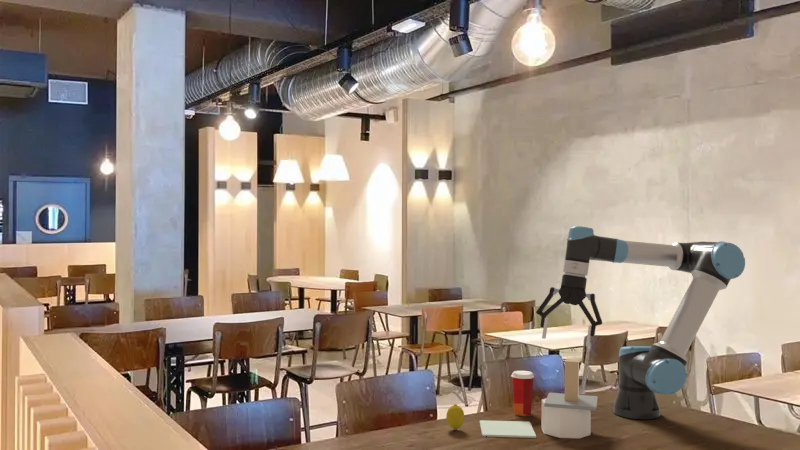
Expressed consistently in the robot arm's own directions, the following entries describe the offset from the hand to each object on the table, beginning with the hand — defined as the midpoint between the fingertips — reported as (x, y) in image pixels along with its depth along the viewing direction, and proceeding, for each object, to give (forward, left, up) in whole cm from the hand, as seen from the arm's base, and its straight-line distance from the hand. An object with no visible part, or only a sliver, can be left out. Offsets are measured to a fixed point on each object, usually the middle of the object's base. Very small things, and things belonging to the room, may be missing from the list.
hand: (565, 342), depth 218 cm
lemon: (+34, +5, -27) cm, 44 cm away
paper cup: (+11, -17, -27) cm, 34 cm away
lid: (-1, +4, -18) cm, 18 cm away
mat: (+18, +3, -27) cm, 33 cm away
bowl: (0, +3, -27) cm, 27 cm away
